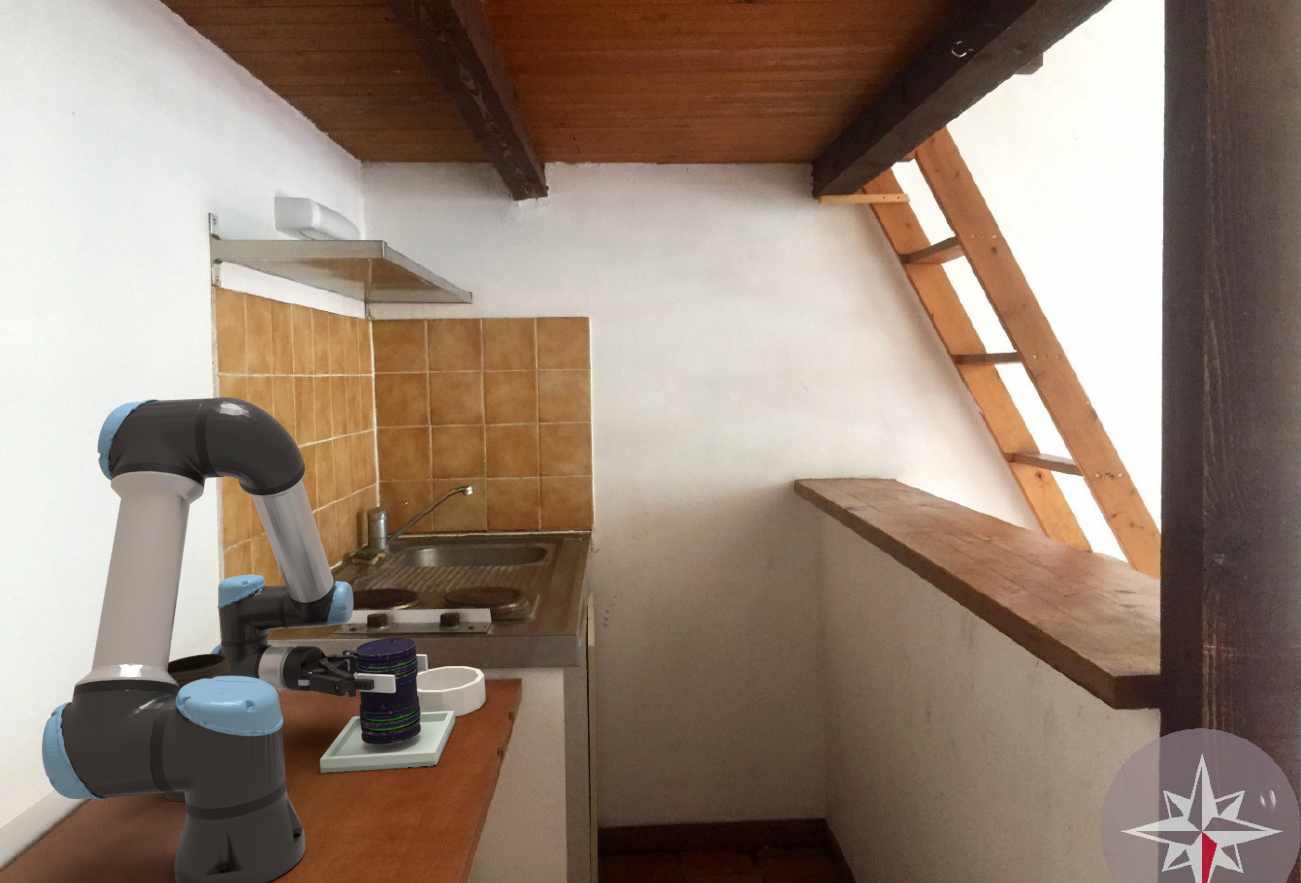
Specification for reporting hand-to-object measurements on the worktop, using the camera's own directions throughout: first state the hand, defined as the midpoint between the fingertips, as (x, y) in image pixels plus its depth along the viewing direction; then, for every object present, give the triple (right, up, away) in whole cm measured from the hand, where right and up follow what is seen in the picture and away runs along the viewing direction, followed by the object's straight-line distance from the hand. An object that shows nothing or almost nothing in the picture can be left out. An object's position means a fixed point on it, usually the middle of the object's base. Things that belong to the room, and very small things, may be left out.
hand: (410, 673), depth 146 cm
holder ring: (+1, -11, +21) cm, 24 cm away
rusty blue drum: (-4, -11, +2) cm, 12 cm away
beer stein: (-32, -15, -10) cm, 36 cm away
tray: (-4, -13, +2) cm, 14 cm away
